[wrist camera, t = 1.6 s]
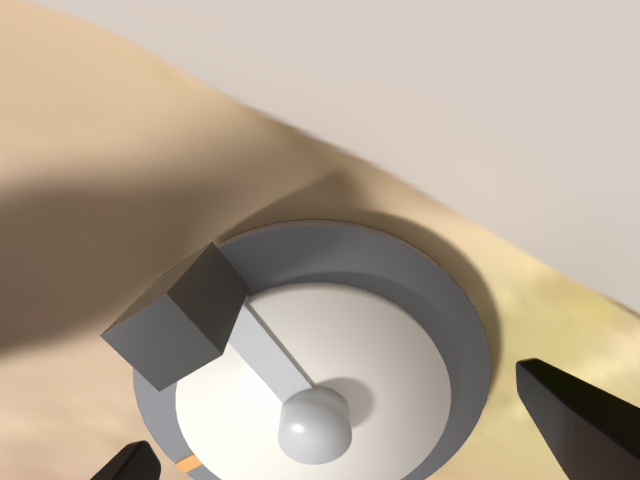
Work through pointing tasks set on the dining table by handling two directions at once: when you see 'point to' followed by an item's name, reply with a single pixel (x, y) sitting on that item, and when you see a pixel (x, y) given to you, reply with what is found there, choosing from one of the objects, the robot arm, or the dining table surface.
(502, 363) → the dining table surface
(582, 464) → the robot arm
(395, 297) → the dial base
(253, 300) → the dial
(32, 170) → the dining table surface
